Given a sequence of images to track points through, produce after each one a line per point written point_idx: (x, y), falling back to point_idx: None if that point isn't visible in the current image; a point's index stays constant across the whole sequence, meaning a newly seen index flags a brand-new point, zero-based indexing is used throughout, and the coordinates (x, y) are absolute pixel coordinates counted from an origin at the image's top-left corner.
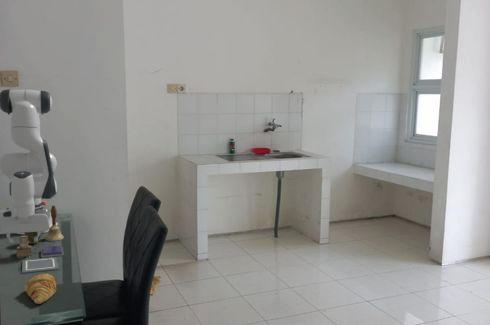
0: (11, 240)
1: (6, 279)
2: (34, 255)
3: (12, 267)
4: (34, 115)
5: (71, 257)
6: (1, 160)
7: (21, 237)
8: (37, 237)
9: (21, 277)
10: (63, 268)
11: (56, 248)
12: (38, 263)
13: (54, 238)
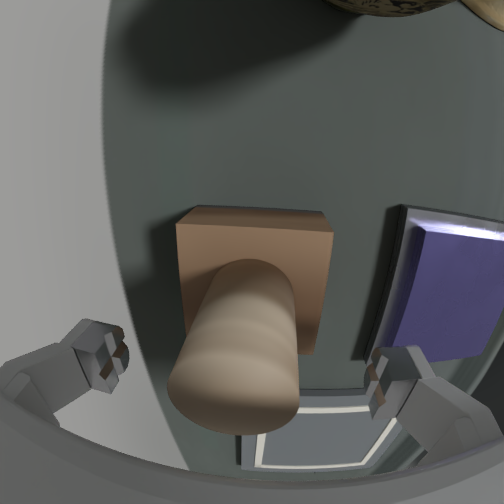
0: (97, 384)
1: (194, 470)
2: (333, 306)
3: None
4: None
5: (477, 375)
6: None
7: (198, 409)
8: (408, 420)
9: (240, 476)
10: (390, 456)
11: (488, 295)
12: (319, 437)
13: (498, 12)
